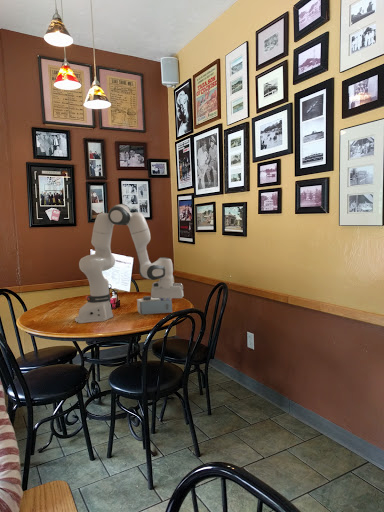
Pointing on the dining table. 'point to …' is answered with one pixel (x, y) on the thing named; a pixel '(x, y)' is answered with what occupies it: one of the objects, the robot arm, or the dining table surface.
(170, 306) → the case door
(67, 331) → the dining table surface
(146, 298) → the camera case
